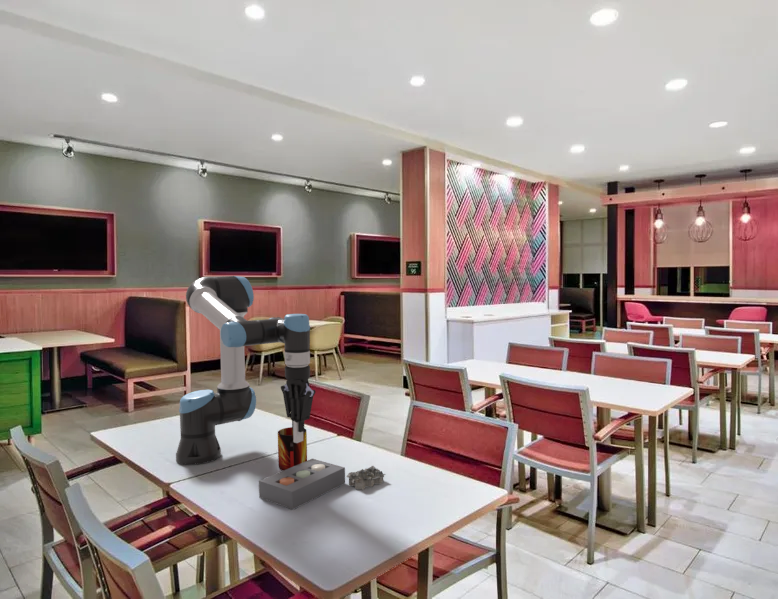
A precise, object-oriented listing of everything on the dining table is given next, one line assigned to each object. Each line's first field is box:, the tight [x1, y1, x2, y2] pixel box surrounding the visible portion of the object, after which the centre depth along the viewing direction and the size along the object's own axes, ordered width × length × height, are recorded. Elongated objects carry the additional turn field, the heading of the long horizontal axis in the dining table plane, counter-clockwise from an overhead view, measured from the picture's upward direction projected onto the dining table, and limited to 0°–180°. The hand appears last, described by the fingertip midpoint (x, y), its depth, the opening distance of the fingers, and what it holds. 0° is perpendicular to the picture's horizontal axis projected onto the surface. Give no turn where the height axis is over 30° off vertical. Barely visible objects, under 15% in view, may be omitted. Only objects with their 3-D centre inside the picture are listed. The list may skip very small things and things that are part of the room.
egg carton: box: [346, 465, 386, 490], centre depth 163 cm, size 11×8×4 cm
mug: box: [277, 426, 308, 471], centre depth 176 cm, size 10×14×12 cm
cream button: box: [311, 464, 325, 471], centre depth 163 cm, size 4×4×3 cm
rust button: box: [280, 477, 294, 486], centre depth 153 cm, size 4×4×3 cm
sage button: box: [296, 470, 310, 478], centre depth 158 cm, size 4×4×3 cm
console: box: [258, 458, 346, 511], centre depth 158 cm, size 14×22×5 cm, turn 144°
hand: (298, 441), depth 160 cm, fingers closed
